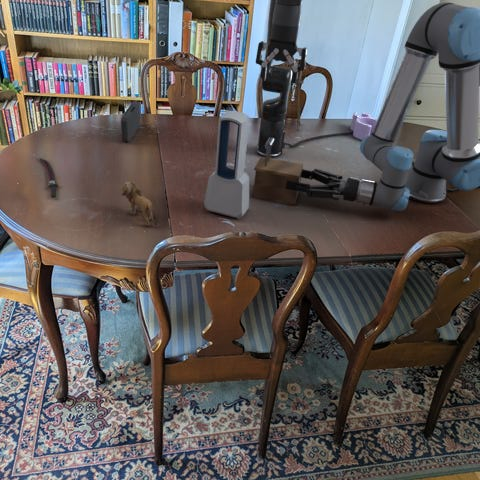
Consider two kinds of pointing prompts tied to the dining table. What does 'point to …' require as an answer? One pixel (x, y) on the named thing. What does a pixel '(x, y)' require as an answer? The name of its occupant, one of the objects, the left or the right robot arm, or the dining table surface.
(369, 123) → the clip
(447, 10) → the right robot arm
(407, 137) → the dining table surface
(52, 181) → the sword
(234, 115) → the electronic device
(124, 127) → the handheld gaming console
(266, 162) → the lid
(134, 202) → the lion figurine
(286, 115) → the miniature windmill
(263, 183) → the chest
